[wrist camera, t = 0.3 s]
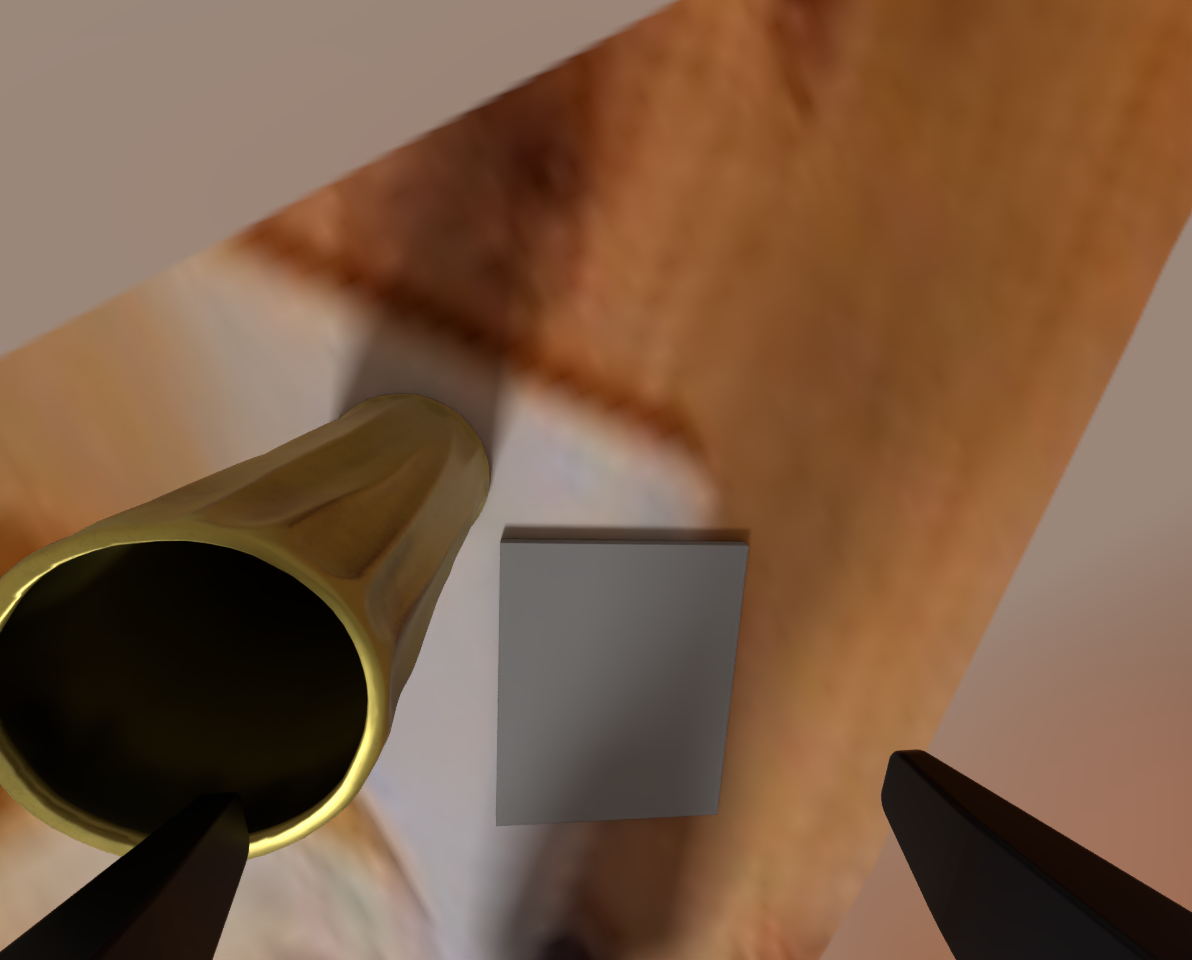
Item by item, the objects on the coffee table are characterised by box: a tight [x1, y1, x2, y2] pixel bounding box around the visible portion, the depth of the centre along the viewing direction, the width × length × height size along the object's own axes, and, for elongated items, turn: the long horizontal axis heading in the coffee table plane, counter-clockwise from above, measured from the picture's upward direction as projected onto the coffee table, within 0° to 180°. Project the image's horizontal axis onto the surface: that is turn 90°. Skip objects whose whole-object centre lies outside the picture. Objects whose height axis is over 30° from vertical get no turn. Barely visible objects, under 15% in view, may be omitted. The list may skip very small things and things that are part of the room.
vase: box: [0, 394, 490, 860], centre depth 14 cm, size 6×6×14 cm
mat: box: [496, 539, 749, 826], centre depth 24 cm, size 13×10×1 cm
